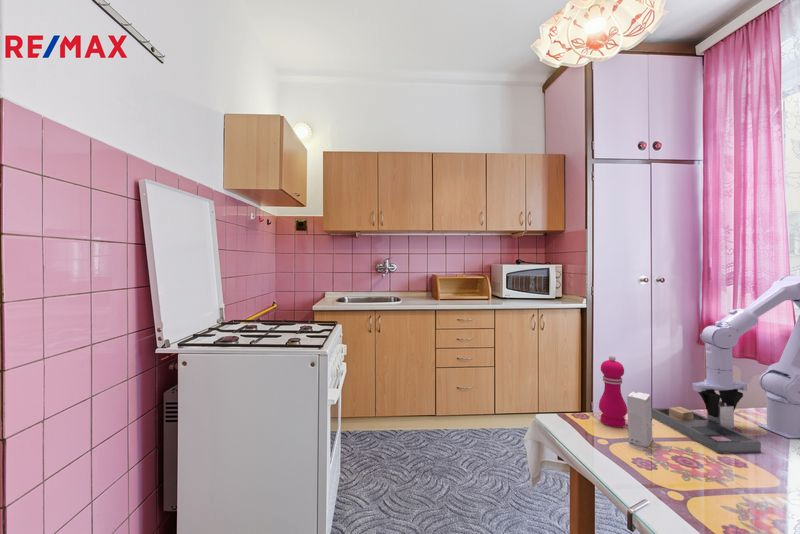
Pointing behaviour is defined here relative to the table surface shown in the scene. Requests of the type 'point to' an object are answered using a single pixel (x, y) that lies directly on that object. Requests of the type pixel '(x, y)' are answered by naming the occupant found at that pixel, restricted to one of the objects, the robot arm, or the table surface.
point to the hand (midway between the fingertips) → (720, 415)
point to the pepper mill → (612, 394)
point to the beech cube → (680, 413)
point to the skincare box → (639, 418)
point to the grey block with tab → (724, 415)
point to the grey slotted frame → (708, 432)
